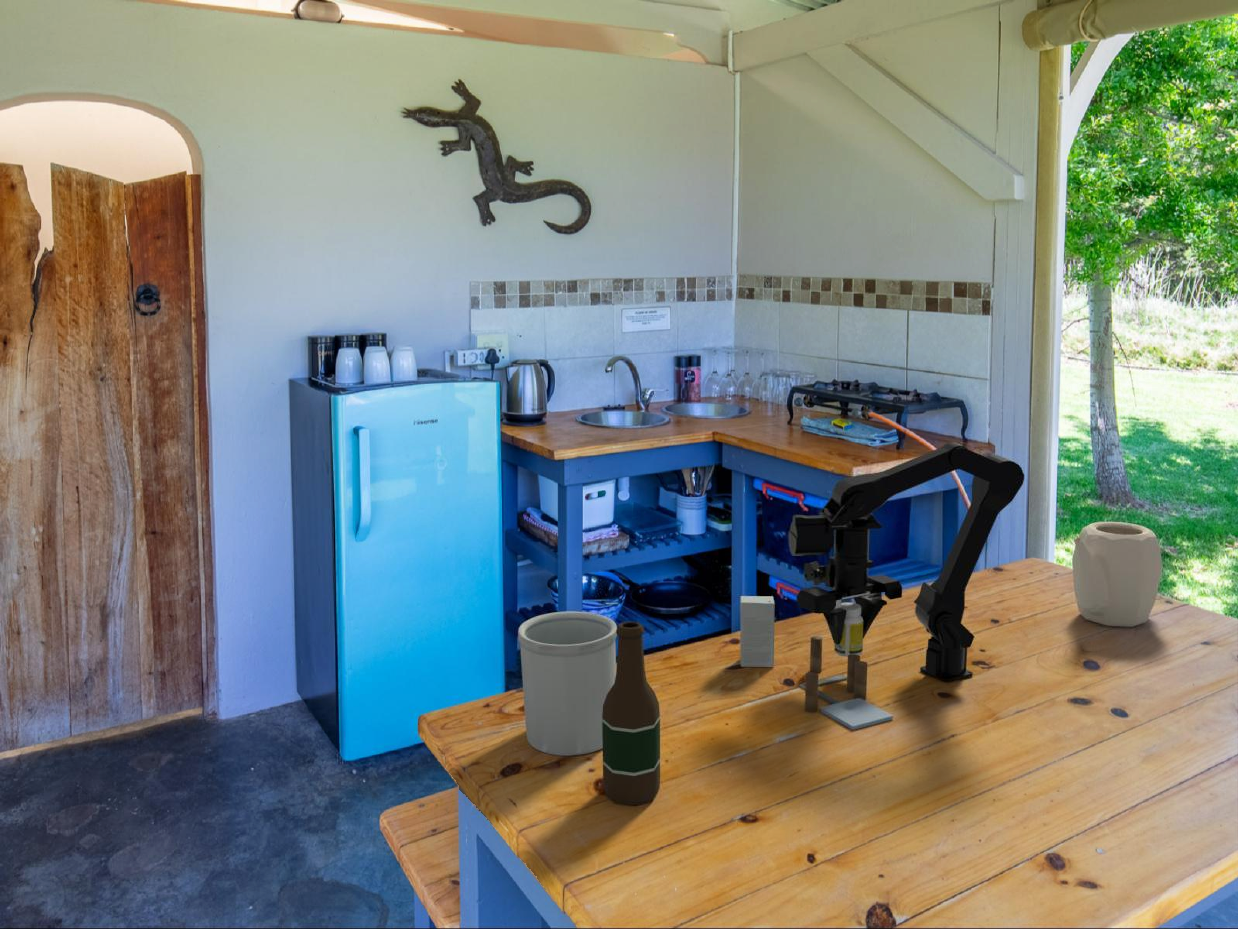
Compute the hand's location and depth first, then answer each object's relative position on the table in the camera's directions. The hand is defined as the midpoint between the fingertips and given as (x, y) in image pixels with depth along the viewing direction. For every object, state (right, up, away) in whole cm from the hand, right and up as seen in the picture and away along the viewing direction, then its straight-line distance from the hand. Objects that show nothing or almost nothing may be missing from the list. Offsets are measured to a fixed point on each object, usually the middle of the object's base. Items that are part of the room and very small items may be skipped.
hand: (848, 641), depth 181 cm
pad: (-2, -9, -14) cm, 17 cm away
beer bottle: (-38, -14, -38) cm, 55 cm away
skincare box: (-15, -5, +8) cm, 18 cm away
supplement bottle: (0, -2, 0) cm, 2 cm away
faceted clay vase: (+58, -1, +28) cm, 64 cm away
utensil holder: (-47, -11, -20) cm, 52 cm away
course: (-6, -7, -4) cm, 10 cm away
